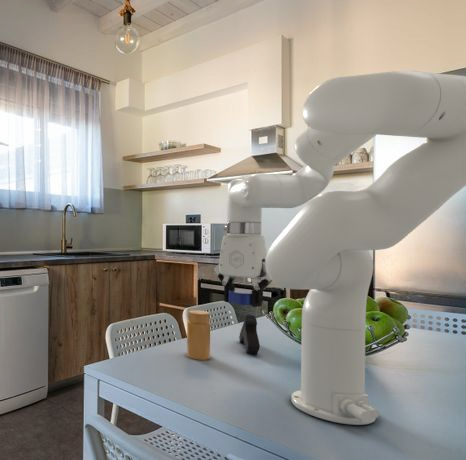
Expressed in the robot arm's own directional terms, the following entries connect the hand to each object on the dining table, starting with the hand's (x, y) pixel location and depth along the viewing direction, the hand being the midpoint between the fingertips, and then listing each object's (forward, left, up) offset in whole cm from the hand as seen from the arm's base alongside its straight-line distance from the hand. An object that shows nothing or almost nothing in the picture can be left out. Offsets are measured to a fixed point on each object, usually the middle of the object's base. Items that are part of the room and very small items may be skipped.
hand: (242, 303), depth 97 cm
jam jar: (+7, +8, -15) cm, 18 cm away
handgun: (+14, -9, -15) cm, 23 cm away
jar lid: (0, 0, 0) cm, 0 cm away
